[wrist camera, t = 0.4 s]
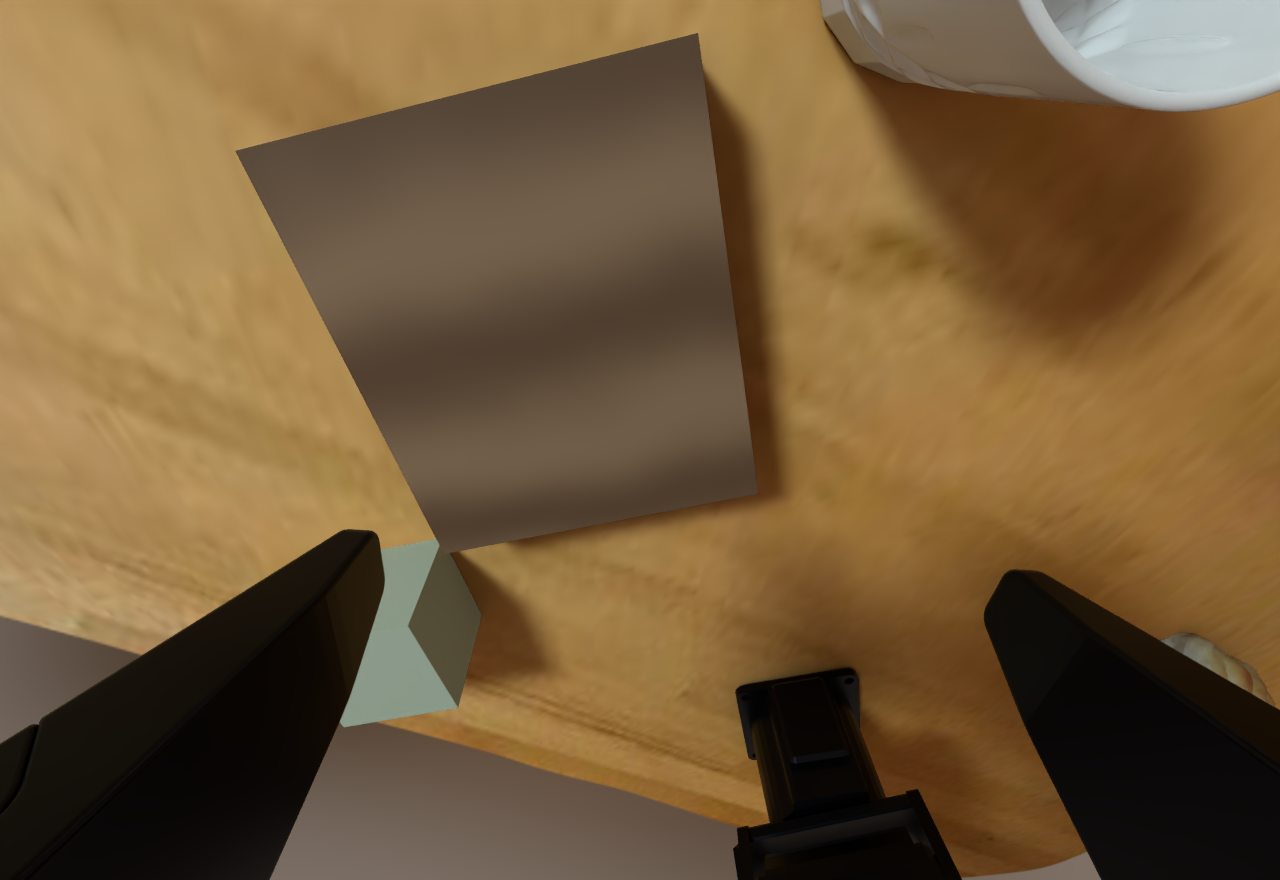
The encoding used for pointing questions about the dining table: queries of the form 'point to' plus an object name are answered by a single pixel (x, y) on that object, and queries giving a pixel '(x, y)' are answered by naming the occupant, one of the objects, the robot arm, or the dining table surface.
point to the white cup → (1071, 48)
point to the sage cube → (416, 638)
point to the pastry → (1220, 663)
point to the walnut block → (531, 293)
